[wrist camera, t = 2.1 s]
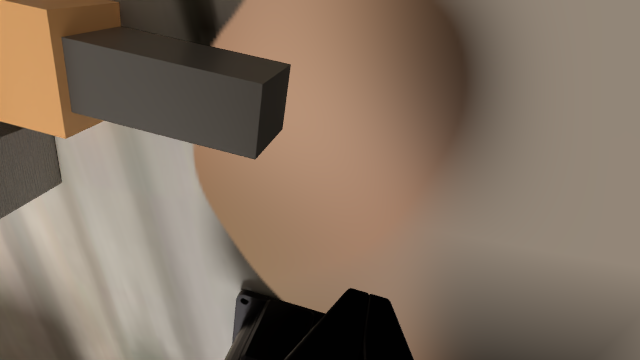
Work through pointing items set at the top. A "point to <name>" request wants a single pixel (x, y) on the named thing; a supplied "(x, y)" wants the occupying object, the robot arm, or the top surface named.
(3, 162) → the housing
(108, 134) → the top surface
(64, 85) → the plug
